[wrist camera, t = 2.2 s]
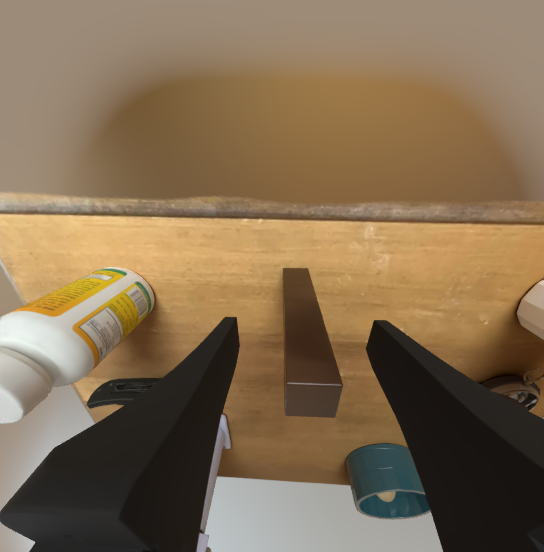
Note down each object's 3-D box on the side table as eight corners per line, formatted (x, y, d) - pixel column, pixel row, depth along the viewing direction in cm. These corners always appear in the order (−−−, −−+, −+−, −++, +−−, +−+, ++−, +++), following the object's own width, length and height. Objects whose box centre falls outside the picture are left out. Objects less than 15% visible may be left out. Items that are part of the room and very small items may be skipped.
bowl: (340, 473, 31) (349, 516, 27) (351, 441, 27) (364, 487, 23) (404, 477, 31) (422, 521, 27) (426, 445, 27) (451, 492, 23)
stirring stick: (282, 289, 17) (284, 416, 8) (283, 267, 16) (285, 383, 7) (306, 289, 17) (335, 418, 8) (308, 268, 16) (343, 385, 7)
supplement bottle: (167, 292, 17) (55, 403, 9) (139, 325, 19) (24, 443, 11) (109, 251, 16) (-96, 337, 7) (85, 291, 18) (-101, 397, 9)
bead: (366, 475, 30) (374, 504, 27) (370, 467, 29) (379, 496, 26) (386, 476, 30) (396, 506, 27) (391, 468, 29) (402, 497, 26)
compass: (504, 412, 23) (594, 505, 16) (440, 402, 22) (505, 493, 16) (561, 366, 19) (705, 461, 13) (485, 353, 19) (593, 445, 12)
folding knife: (108, 383, 24) (85, 410, 21) (103, 376, 23) (79, 402, 20) (185, 382, 23) (173, 409, 20) (182, 374, 22) (169, 401, 20)
